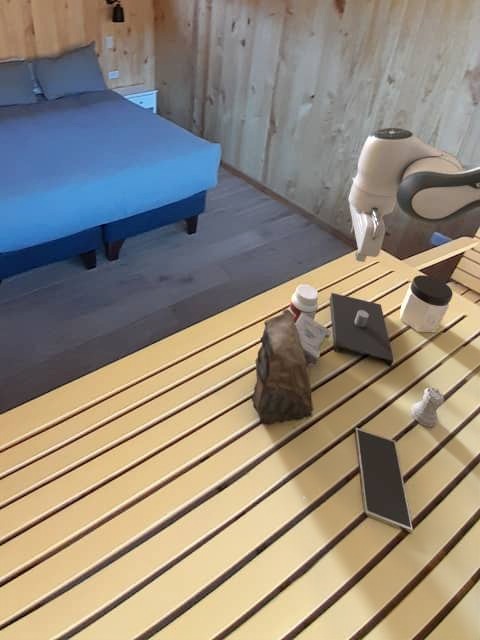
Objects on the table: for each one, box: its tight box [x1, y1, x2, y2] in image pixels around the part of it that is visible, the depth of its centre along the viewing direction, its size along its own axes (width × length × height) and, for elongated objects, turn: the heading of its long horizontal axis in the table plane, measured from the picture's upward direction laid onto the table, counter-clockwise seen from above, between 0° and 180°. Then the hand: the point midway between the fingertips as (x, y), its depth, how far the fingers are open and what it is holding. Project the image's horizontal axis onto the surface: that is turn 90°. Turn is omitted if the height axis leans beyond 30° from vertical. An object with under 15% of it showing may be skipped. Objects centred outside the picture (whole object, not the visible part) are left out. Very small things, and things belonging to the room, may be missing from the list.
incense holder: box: [295, 314, 333, 370], centre depth 93 cm, size 10×8×10 cm
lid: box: [329, 292, 395, 368], centre depth 102 cm, size 12×18×6 cm, turn 158°
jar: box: [399, 274, 454, 333], centre depth 103 cm, size 9×8×12 cm
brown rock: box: [251, 308, 315, 426], centre depth 84 cm, size 13×13×20 cm
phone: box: [354, 427, 414, 534], centre depth 74 cm, size 7×15×1 cm, turn 158°
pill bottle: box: [288, 284, 319, 323], centre depth 103 cm, size 6×6×11 cm
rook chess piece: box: [410, 386, 445, 428], centre depth 82 cm, size 4×4×8 cm
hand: (357, 247), depth 95 cm, fingers open, 8 cm apart
